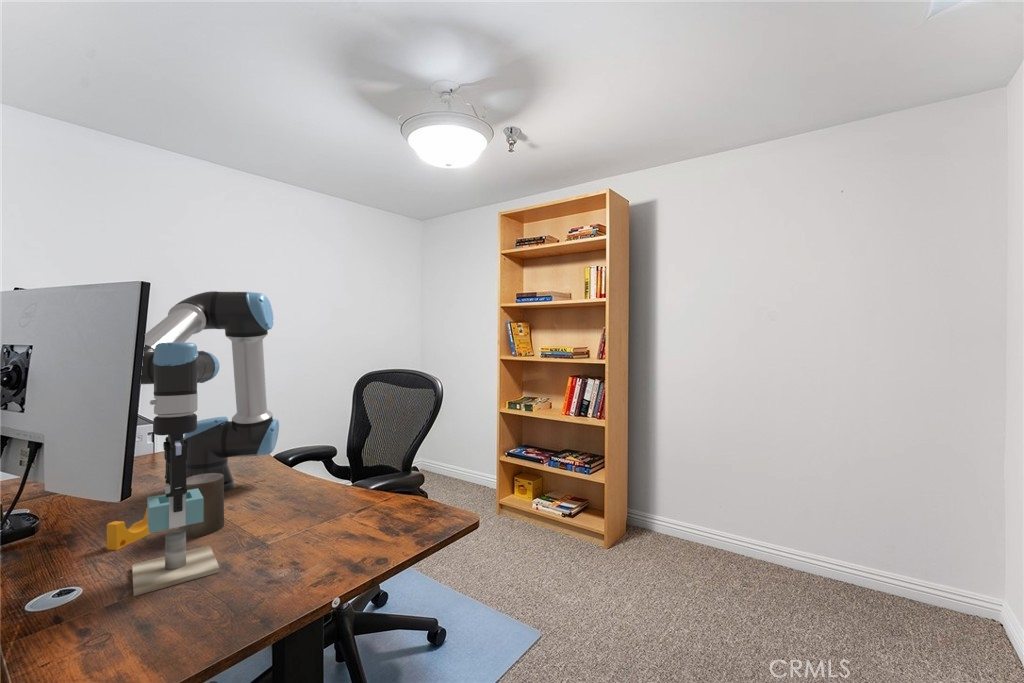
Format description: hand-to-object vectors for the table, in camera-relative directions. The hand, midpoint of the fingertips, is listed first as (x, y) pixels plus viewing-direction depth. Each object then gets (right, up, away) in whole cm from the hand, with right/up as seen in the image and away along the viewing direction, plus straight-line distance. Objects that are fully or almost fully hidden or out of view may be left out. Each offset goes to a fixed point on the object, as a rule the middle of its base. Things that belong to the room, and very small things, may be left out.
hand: (175, 519), depth 96 cm
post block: (0, -11, 0) cm, 11 cm away
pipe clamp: (-22, -11, +15) cm, 29 cm away
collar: (0, 0, 0) cm, 0 cm away
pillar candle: (-8, -11, +21) cm, 25 cm away
